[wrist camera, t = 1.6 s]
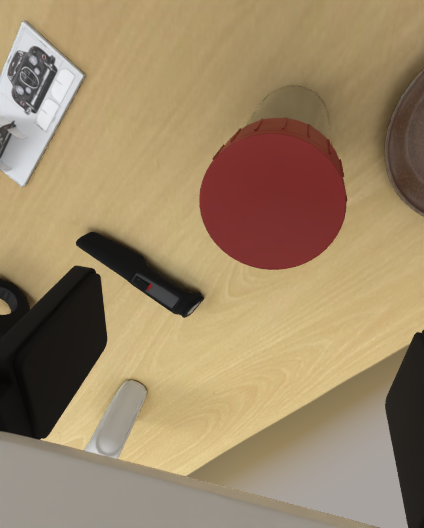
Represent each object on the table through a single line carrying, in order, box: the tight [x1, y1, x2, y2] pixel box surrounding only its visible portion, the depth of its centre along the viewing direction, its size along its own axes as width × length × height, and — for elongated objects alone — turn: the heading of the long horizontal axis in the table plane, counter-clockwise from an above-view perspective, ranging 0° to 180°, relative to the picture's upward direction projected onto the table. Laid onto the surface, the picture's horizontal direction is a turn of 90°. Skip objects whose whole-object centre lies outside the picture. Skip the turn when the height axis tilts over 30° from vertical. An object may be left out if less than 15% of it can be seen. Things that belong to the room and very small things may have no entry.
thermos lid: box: [200, 117, 347, 270], centre depth 20 cm, size 7×7×4 cm
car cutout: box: [0, 21, 86, 187], centre depth 37 cm, size 15×7×4 cm, turn 139°
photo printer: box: [84, 380, 147, 459], centre depth 54 cm, size 10×4×12 cm, turn 152°
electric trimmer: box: [76, 232, 204, 318], centre depth 45 cm, size 4×16×3 cm, turn 57°
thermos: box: [245, 86, 333, 146], centre depth 27 cm, size 6×6×18 cm
